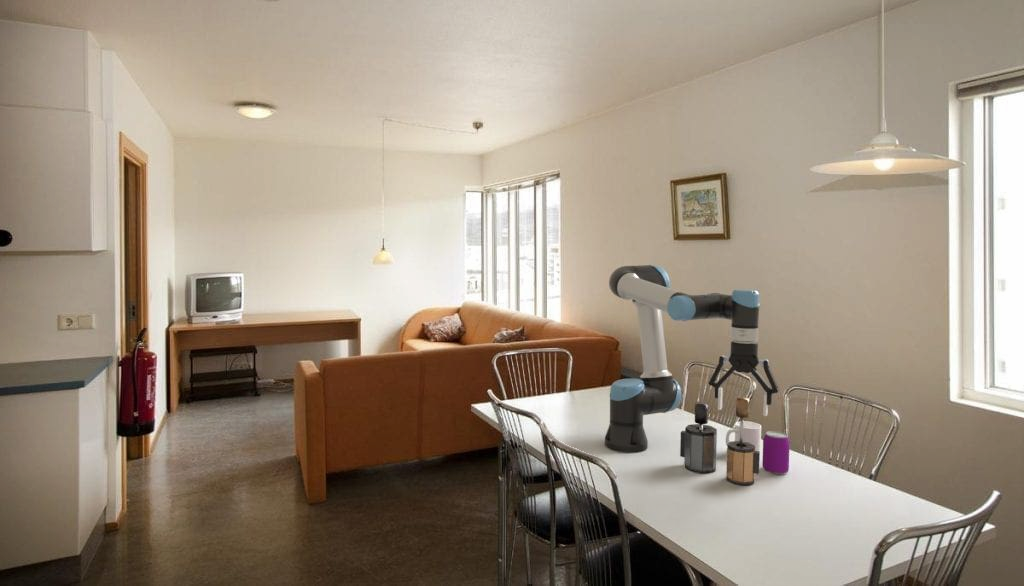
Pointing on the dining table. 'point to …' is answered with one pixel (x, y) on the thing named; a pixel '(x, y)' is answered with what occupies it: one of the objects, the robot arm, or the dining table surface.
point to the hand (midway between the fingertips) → (742, 412)
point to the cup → (747, 434)
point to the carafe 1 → (699, 448)
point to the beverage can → (776, 452)
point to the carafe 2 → (742, 463)
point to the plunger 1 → (701, 414)
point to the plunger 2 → (742, 413)
